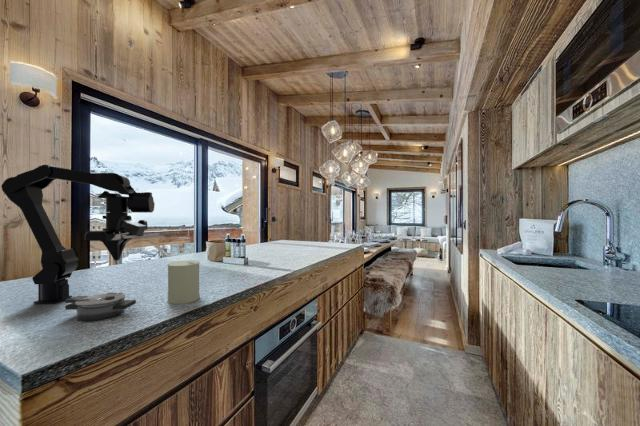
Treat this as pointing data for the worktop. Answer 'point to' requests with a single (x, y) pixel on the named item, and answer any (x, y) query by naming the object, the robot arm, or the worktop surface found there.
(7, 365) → the worktop surface
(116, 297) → the lid
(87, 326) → the worktop surface
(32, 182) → the robot arm
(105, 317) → the pot
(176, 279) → the can
